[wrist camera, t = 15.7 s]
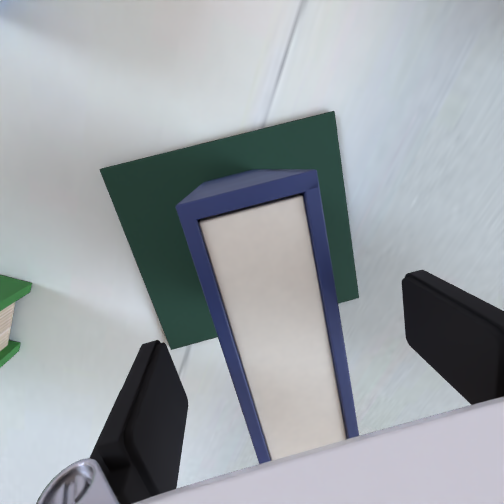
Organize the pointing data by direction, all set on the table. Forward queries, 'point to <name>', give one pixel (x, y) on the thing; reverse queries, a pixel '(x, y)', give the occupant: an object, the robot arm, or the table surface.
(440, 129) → the table surface
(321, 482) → the robot arm
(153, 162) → the desk pad
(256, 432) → the navy book
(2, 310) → the hardback book
